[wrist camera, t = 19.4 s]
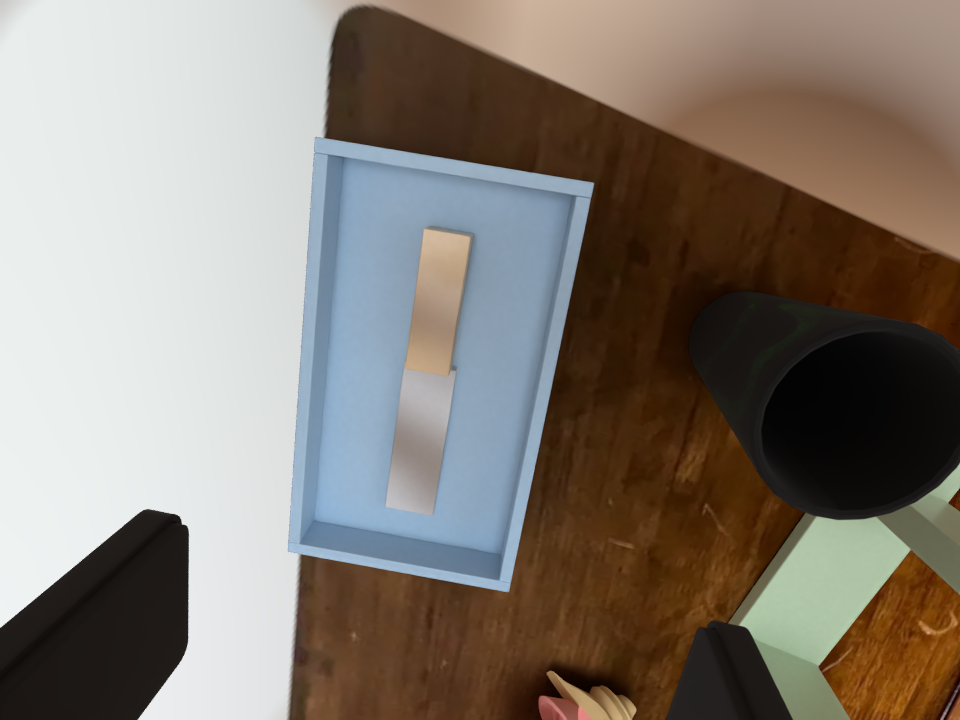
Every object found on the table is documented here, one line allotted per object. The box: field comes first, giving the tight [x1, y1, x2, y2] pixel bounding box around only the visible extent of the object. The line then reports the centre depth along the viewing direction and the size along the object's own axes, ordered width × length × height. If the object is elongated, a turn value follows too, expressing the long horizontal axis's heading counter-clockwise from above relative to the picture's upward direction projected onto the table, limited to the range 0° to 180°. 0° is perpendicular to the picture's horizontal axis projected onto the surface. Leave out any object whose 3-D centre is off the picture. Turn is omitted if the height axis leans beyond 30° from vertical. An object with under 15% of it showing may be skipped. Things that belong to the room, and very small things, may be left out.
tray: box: [288, 137, 594, 592], centre depth 32 cm, size 23×13×3 cm, turn 171°
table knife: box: [385, 226, 474, 516], centre depth 32 cm, size 17×3×2 cm, turn 170°
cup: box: [688, 291, 960, 520], centre depth 26 cm, size 8×8×12 cm
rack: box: [728, 463, 960, 720], centre depth 28 cm, size 20×6×14 cm, turn 157°
